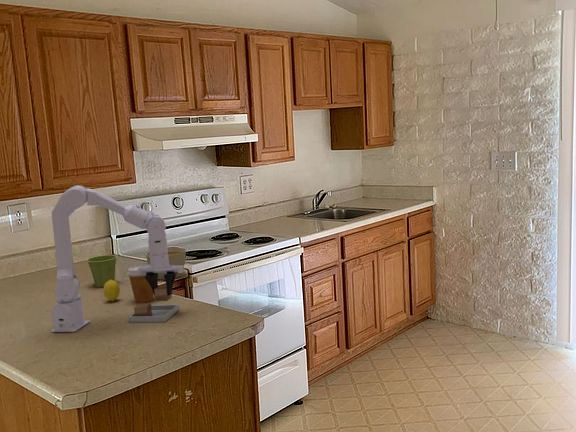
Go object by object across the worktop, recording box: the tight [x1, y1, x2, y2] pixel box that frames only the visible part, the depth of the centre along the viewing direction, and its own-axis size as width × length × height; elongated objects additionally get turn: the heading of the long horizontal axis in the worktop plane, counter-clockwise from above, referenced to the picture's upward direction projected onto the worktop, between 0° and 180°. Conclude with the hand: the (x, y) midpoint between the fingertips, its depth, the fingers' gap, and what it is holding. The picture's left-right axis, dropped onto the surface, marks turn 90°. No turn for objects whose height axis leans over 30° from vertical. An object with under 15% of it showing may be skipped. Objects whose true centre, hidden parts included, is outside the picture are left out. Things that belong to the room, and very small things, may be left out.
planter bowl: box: [145, 247, 187, 281], centre depth 235 cm, size 16×16×11 cm
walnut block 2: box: [154, 285, 173, 302], centre depth 185 cm, size 4×4×4 cm
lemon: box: [103, 280, 121, 302], centre depth 205 cm, size 6×6×8 cm
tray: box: [127, 304, 180, 324], centre depth 184 cm, size 12×12×2 cm
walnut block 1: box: [133, 302, 152, 316], centre depth 181 cm, size 4×4×4 cm
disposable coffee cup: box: [126, 264, 154, 304], centre depth 202 cm, size 10×10×12 cm
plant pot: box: [85, 254, 118, 288], centre depth 230 cm, size 12×12×11 cm
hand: (163, 294), depth 185 cm, fingers closed on walnut block 2, 4 cm apart
